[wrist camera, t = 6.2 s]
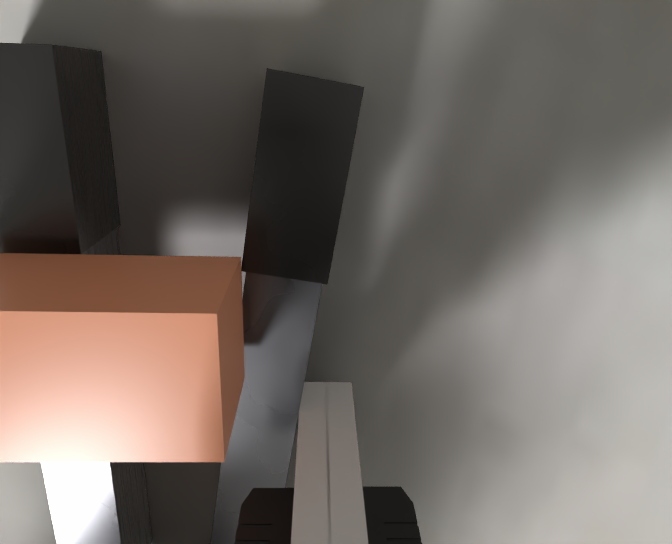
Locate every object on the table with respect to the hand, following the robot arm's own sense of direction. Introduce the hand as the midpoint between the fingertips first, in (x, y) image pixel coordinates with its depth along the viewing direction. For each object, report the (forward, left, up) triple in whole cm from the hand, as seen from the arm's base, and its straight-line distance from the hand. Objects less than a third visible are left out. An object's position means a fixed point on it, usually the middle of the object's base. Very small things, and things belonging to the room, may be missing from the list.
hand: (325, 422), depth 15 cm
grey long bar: (0, -3, -1) cm, 3 cm away
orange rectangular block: (-4, -5, +2) cm, 7 cm away
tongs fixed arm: (-2, -7, -1) cm, 7 cm away
